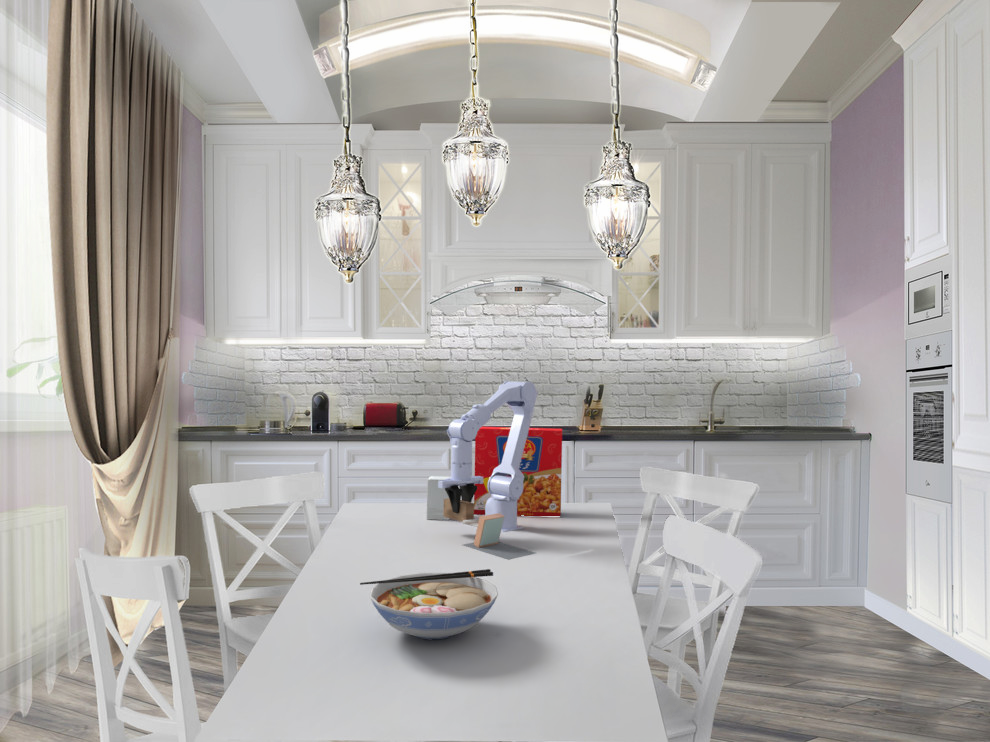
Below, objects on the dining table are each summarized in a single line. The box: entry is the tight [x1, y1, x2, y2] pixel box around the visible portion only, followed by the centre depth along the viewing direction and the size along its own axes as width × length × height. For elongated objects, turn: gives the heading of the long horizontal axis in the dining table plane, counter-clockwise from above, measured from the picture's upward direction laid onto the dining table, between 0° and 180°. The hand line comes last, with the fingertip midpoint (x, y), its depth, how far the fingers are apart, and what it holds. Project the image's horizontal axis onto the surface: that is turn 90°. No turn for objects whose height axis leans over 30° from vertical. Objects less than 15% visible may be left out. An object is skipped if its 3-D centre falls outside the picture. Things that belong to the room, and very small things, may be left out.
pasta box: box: [473, 426, 563, 517], centre depth 225 cm, size 28×8×28 cm, turn 85°
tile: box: [473, 513, 504, 548], centre depth 181 cm, size 2×7×8 cm, turn 132°
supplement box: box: [426, 475, 451, 521], centre depth 217 cm, size 7×7×13 cm
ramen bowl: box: [359, 568, 499, 641], centre depth 122 cm, size 25×23×8 cm
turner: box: [443, 498, 479, 528], centre depth 188 cm, size 17×5×5 cm, turn 42°
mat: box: [462, 541, 537, 561], centre depth 179 cm, size 18×10×1 cm, turn 42°
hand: (460, 511), depth 190 cm, fingers closed on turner, 3 cm apart
